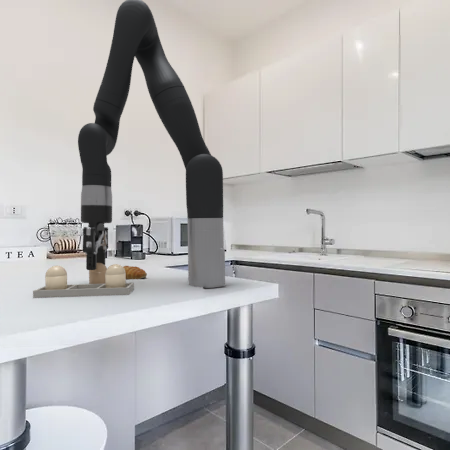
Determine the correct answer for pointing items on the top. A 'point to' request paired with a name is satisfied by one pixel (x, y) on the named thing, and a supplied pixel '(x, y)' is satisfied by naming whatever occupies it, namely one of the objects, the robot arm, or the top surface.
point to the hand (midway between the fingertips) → (96, 267)
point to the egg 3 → (115, 277)
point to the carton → (83, 291)
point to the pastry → (134, 272)
